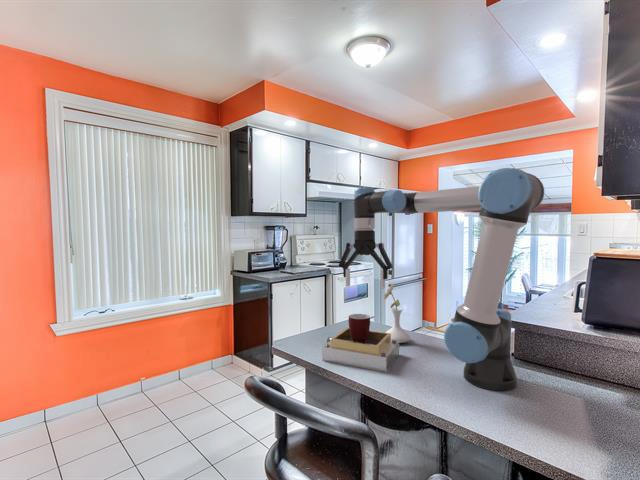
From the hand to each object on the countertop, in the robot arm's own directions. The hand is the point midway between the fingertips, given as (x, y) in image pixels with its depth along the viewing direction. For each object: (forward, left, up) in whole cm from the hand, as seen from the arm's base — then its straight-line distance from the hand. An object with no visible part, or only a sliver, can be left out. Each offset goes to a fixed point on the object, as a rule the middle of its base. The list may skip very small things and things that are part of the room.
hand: (365, 287), depth 127 cm
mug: (+1, 0, -22) cm, 22 cm away
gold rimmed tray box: (+3, 0, -27) cm, 27 cm away
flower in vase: (-6, -23, -27) cm, 36 cm away
